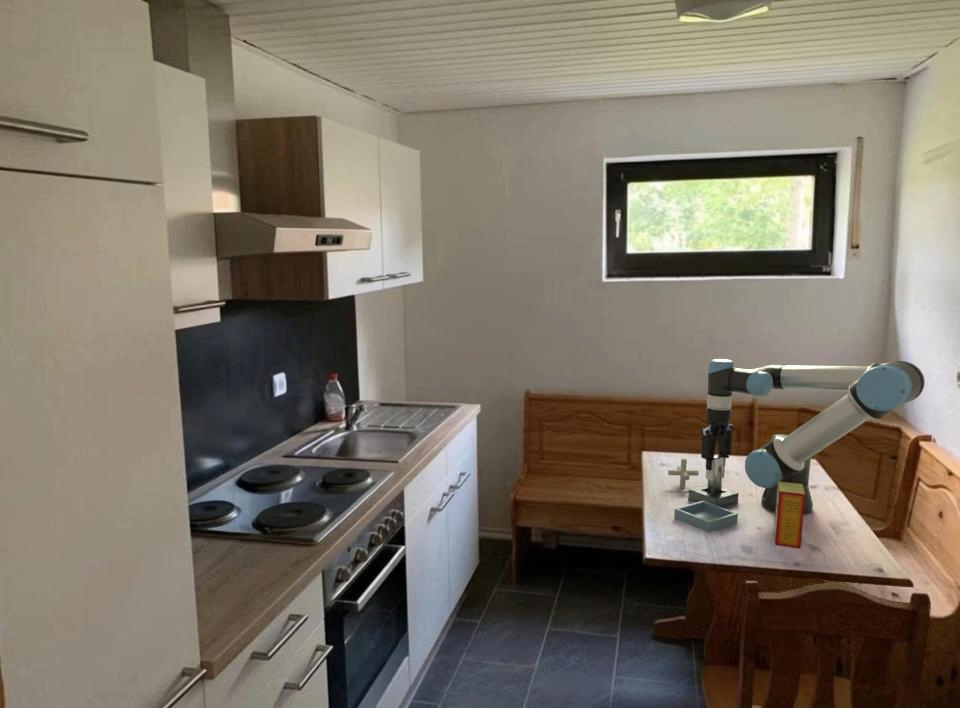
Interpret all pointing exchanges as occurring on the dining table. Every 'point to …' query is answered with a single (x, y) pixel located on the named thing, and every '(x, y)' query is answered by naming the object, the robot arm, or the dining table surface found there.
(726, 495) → the block
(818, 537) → the dining table surface
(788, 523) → the baking soda box
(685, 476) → the pipe connector
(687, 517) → the parts tray
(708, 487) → the shiny metal cylinder
